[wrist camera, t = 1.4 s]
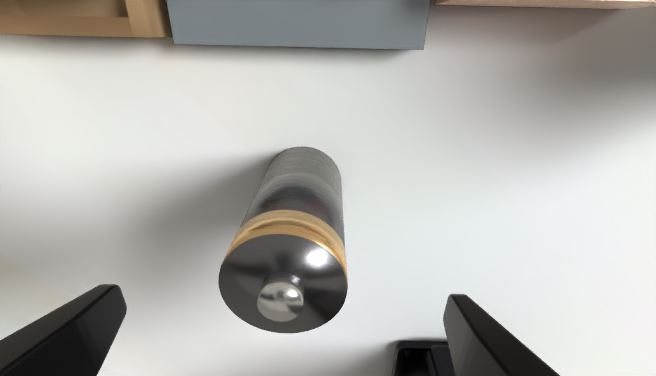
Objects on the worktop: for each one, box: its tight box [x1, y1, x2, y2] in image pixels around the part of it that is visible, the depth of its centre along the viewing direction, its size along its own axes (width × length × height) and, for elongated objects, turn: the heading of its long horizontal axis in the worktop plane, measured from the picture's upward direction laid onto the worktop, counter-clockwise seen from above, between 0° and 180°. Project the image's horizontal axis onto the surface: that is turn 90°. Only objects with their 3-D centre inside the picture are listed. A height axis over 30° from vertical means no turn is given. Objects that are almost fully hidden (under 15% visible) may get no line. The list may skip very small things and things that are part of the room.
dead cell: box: [219, 147, 348, 333], centre depth 12 cm, size 4×4×8 cm
